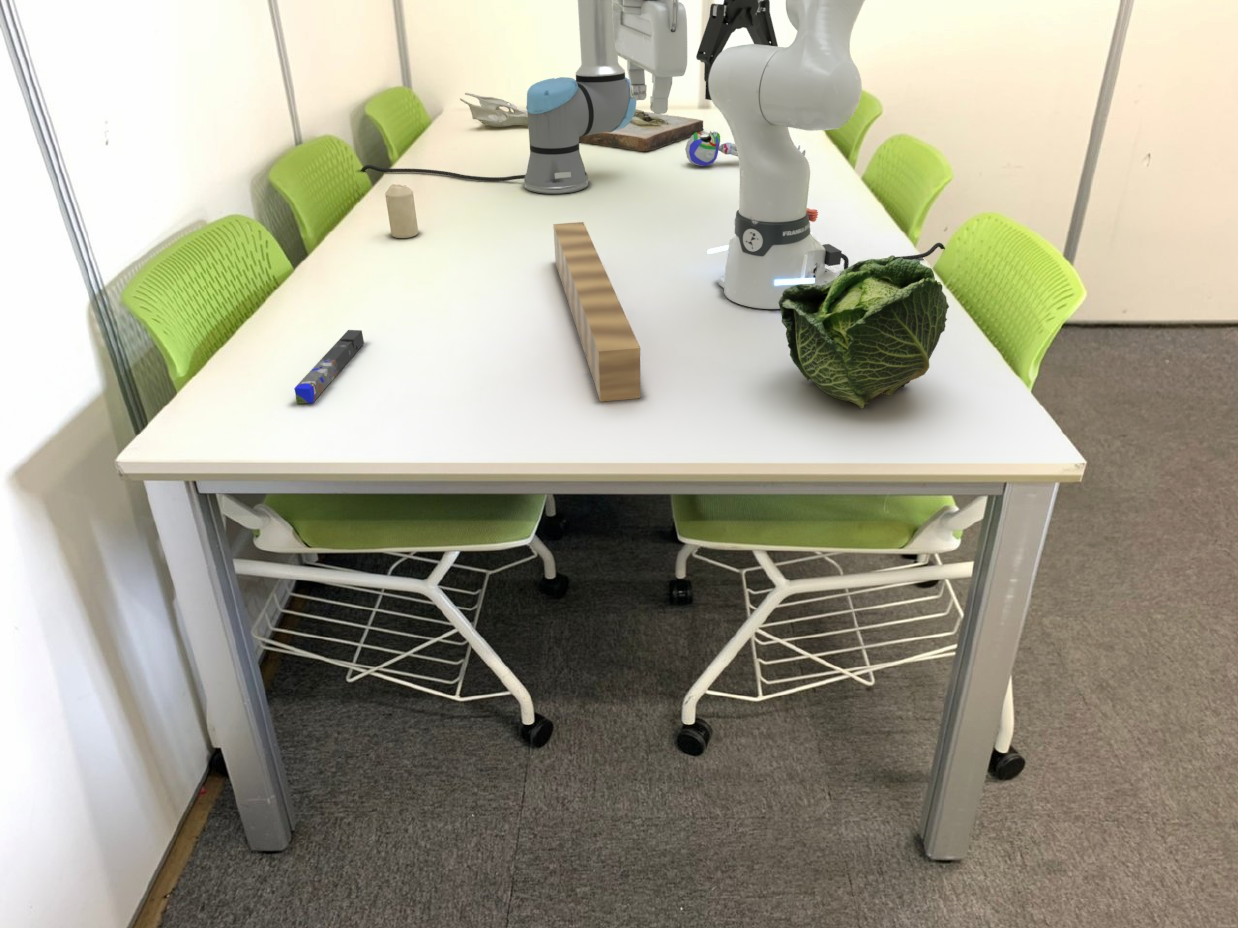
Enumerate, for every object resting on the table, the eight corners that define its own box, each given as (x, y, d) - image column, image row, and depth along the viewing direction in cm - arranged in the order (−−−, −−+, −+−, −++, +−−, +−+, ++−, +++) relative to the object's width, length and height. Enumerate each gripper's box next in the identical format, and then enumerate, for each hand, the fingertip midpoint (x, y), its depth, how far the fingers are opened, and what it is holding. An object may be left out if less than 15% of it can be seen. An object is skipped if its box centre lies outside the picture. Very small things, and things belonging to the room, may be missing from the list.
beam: (555, 263, 169) (553, 224, 165) (584, 261, 170) (583, 222, 166) (600, 402, 123) (598, 351, 119) (640, 398, 123) (640, 347, 119)
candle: (423, 231, 187) (416, 182, 181) (409, 239, 182) (402, 190, 177) (400, 229, 188) (393, 180, 183) (386, 237, 184) (378, 187, 178)
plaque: (647, 125, 237) (559, 112, 252) (647, 153, 241) (560, 139, 256) (706, 107, 258) (622, 97, 273) (705, 133, 262) (622, 121, 277)
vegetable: (809, 415, 132) (748, 301, 124) (914, 342, 133) (860, 224, 126) (882, 452, 114) (816, 321, 106) (1002, 367, 115) (946, 232, 107)
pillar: (361, 330, 139) (308, 390, 122) (364, 343, 140) (311, 404, 123) (348, 329, 139) (293, 389, 122) (350, 342, 140) (296, 403, 123)
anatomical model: (468, 90, 276) (547, 88, 273) (472, 121, 281) (549, 120, 278) (454, 100, 264) (536, 98, 260) (458, 132, 269) (539, 131, 265)
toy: (809, 146, 225) (693, 132, 220) (801, 180, 229) (687, 167, 224) (798, 137, 233) (686, 124, 229) (791, 170, 238) (681, 158, 233)
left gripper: (709, -23, 155) (704, 106, 167) (802, -31, 169) (792, 89, 180) (679, -25, 160) (676, 101, 171) (771, -33, 174) (764, 84, 185)
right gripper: (704, -14, 97) (698, 120, 104) (652, -25, 114) (650, 91, 121) (647, -13, 96) (646, 123, 103) (603, -24, 113) (605, 93, 120)
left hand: (735, 95), depth 176 cm, fingers open, 13 cm apart
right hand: (648, 106), depth 112 cm, fingers open, 8 cm apart
